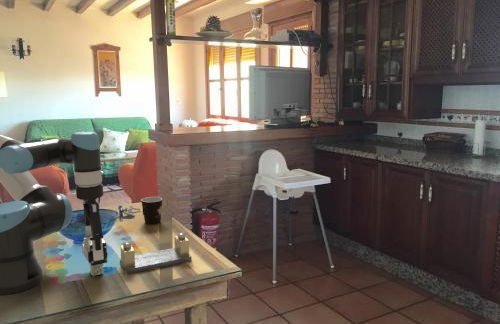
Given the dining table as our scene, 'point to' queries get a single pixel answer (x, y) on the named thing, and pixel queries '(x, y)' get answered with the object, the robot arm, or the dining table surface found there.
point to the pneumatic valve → (88, 253)
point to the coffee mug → (152, 210)
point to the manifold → (155, 256)
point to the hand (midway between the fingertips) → (94, 252)
